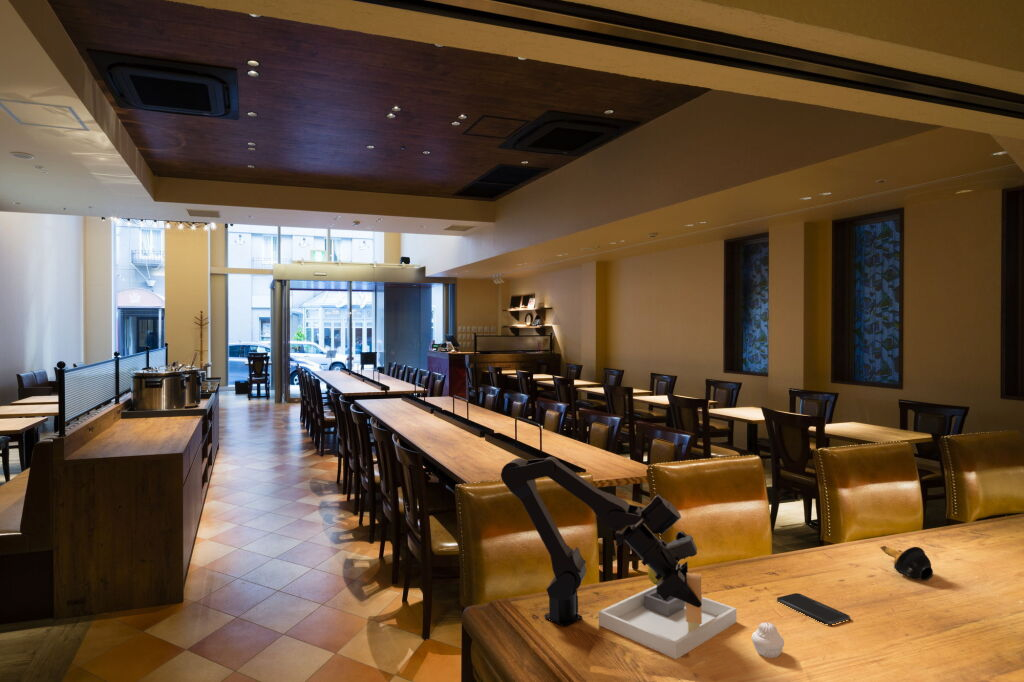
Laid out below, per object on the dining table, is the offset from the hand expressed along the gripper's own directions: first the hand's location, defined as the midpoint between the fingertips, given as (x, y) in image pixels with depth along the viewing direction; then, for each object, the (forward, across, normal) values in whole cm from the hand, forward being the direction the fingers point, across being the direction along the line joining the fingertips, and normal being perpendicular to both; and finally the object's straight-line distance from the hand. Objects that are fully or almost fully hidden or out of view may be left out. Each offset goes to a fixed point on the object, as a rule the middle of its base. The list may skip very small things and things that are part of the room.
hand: (700, 602), depth 131 cm
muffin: (+15, -5, -4) cm, 16 cm away
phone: (+24, +21, -12) cm, 34 cm away
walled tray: (0, +2, +10) cm, 10 cm away
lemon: (-2, +25, +13) cm, 29 cm away
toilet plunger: (+44, +55, -33) cm, 78 cm away
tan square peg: (+4, 0, +6) cm, 7 cm away
